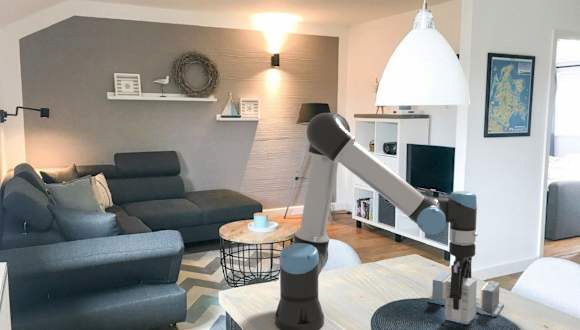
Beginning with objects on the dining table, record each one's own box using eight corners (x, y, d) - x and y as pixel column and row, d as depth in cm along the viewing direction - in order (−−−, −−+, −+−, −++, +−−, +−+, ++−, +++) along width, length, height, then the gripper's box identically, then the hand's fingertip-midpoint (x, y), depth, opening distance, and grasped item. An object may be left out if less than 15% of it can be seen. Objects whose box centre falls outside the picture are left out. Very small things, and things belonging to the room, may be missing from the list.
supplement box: (452, 312, 155) (453, 274, 154) (476, 318, 150) (477, 279, 149) (443, 320, 149) (444, 280, 148) (468, 326, 145) (469, 285, 143)
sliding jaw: (442, 301, 161) (443, 281, 160) (432, 299, 163) (432, 279, 162) (452, 292, 169) (452, 273, 168) (441, 290, 171) (442, 271, 170)
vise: (496, 317, 151) (497, 293, 150) (427, 302, 163) (427, 279, 162) (503, 306, 160) (504, 282, 159) (437, 292, 172) (438, 270, 171)
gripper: (465, 251, 137) (463, 329, 139) (483, 236, 153) (481, 306, 156) (439, 247, 141) (437, 322, 143) (459, 233, 158) (457, 301, 160)
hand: (460, 314), depth 150 cm, fingers closed on supplement box, 7 cm apart
